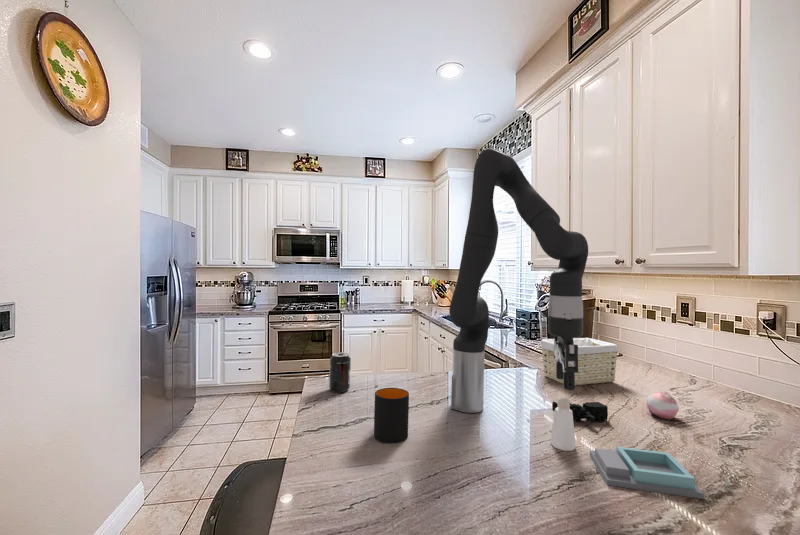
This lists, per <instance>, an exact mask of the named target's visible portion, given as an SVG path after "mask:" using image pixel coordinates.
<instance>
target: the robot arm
mask: <svg viewBox="0 0 800 535" xmlns="http://www.w3.org/2000/svg"><path fill="white" fill-rule="evenodd" d="M473 167H474V168H473V176H472V186H471V188H472V189H471V190H472V191H471V201H470V206H469V207H470V208H469V213H468V221H467V226H466V230H465V236H464V241H463V245H462V246H463V247H462V254H461V258H460V259H461V260H460V264H459V270H458V275H457V279H456V282H455V283H456V284H455V287H454V291H453V294H452V297H451V300H450V304H449V318H450V320H451V322H452V324H453V325H455V326H456V327H458V328H460V329H459V333H458V334H457V335H456V337H454V339H453V341H452V342H453V343H452V344H453V345H452V346H453V347H452V375H451V388H450V389H451V391H450V392H451V394H450V395H451V396H450V409H452V410H456V411H457V412H458V411H459V412H462V413H466V414H467V413H470V414H473V413H479V412H482V411H483V410H484V404H485V403H484V402H485V401H484V399H485V398H484V395H485V394H484V392H485V391H484V390H485V388H484V387H485V386H484V385H485V349H486V343H487V341H488V335H489V322H490V321H489V318H490V310H489V305H488V303H487V302H486V300H485V299H484V298H483V297H481V296H479V293H480V292H479V291H480V286H481V283H482V280H483V277H484V275H485V274H486V272H487V270H488V269H489V266H490V265H491V264H492V261H493V259H494V257H495V255H496V254H495V253H496V251H497V250H496V248H497V244H498V238H499V226H498V219H497V216H496V213H495V207H494V193H495V188H496V187H498V188H500V189H502V190H503V191H505V193H507V194H508V195H509V196H510V197H511V198H512V200H513V203H514V204H515V207H516V210H517V213H518V214H519V216H520V217H521V219H522V220H523V222H525V224H526V225H527V226H528V227H529V228H530V230H532V232H533V234H535V238H536V240H537V241H538V243H539V245H540V248H541V249H542V251H543V252H544V253H545V254H546V255H547V256H548V257H550V258H551V259H552V260H557V261H559V263H558V269H556V270H555V271H553V272H552V273H551V274H550V277H549V299H548V305H547V306H548V308H547V312H548V315H547V318H548V319H547V321H548V322H547V333H548V334H549V335H551V336H553V339H554V359H555V362H556V377H557V379H563V384H562V386H563V389H564V390H565V391H566V390H567V391H574V390H575V387H576V385H575V374H574V373H578V345H574V341H573V338H582V336H583V335H584V303H583V276H584V273H585V269H586V264H587V261H588V256H589V245H588V240H587V238H586V237H585V236H584V234H582V233H580V232H578V231H571V230H566V229H565V228H563V226H562V225H561V217H560V215H559V214H558V213H557V212H556V210H555V209H554V208H553V207H552V206H551V205H550V204H549V203H548V202H547V201H546V200H545V199H544V198H543V197H542V196H541V195H540V194H539V192H538V191H537V190H536V189H535V188H534V187H533V186H532V184H531V183H530V181H529V180H528V179H527V177H526V176H525V174H524V173H523V171H522V169H521V168H520V167H519V165H518V163H517V162H516V160H515V159H514V158H513V156H510V155H509V154H507V153H504V152H502V151H499V150H496V149H494V148H485V149H484V150H482V151H481V152H480V154H478V157H477V159H476V161H475V164H474V166H473ZM568 364H571V365H572V367H571V366H568Z"/></svg>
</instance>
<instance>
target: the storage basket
mask: <svg viewBox="0 0 800 535" xmlns="http://www.w3.org/2000/svg"><path fill="white" fill-rule="evenodd" d="M573 341H574V345H578V373H574V374H575V386H580V385H592V384H594V385H596V384H604V383H612V382H615V381H616V380H615V378H616V369H617V360H618V358H617V357H618V352H619V347H618V344H616V343H611V342H608V341H603V340H599V339H597V338H596V339H595V338H590V337H574V338H573ZM540 348H541V351H542V352H541V353H542V354H541V355H542V364H543V374H544V376H545V377H547V378H549V379H551V380H553V381H556V382H558V383H560V384H562V385H563V379H557V377H556V362H555V359H554V338H542V339H541V340H540ZM568 366H571V367H572V365H571V364H568Z"/></svg>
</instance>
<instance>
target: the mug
mask: <svg viewBox="0 0 800 535" xmlns="http://www.w3.org/2000/svg"><path fill="white" fill-rule="evenodd" d="M409 407H410V392H408V391H407V390H405V389H402V388H398V387H384V388H383V387H382V388H380V389H378V390H376V391H375V392H374V411H373V412H374V416H373V417H374V418H373V421H374V422H373V437H374V439H375V440H376V441H378V442H379V443H383V444H389V445H391V444H392V445H393V444H400V443H403V442H405V441H406V440H407V439H408V437H409V409H410V408H409Z"/></svg>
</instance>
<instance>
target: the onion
mask: <svg viewBox="0 0 800 535" xmlns="http://www.w3.org/2000/svg"><path fill="white" fill-rule="evenodd" d="M645 401H646V406H647V407H646V408H647V409H648V412H646V414H647V415H648V416H651V417H652V418H655V419H659V418H660V419H661V420H662V419H664V420H673V419H674V418H675V417H676V416H677V414H678V412H679V404H678V401H677V400H676V398H674V397H673V396H672V395H671V394H670V393H668V392H667V391H664V392H663V391H661V392H660V391H658V392H654V393H651V394H650V395H649V396H648V397H646V400H645Z"/></svg>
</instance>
